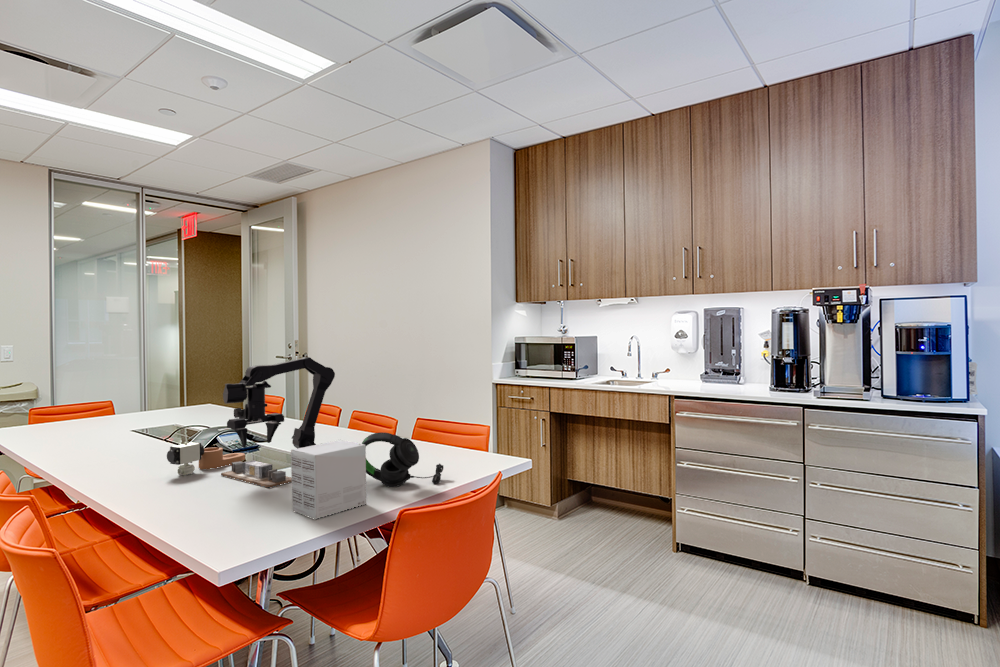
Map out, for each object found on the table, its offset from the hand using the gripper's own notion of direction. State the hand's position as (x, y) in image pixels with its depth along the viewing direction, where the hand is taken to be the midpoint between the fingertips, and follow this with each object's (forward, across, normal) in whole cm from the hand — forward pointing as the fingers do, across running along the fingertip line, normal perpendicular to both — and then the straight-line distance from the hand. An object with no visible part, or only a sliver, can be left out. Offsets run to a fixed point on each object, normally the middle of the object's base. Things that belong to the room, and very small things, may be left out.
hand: (256, 444), depth 193 cm
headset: (+12, -22, +49) cm, 55 cm away
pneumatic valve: (+12, +11, -29) cm, 33 cm away
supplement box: (+12, +7, +49) cm, 51 cm away
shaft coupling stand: (+12, 0, 0) cm, 12 cm away
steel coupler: (+11, 0, 0) cm, 11 cm away
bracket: (+12, -5, -32) cm, 35 cm away
